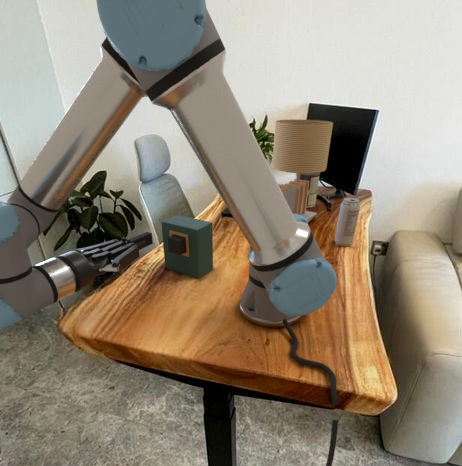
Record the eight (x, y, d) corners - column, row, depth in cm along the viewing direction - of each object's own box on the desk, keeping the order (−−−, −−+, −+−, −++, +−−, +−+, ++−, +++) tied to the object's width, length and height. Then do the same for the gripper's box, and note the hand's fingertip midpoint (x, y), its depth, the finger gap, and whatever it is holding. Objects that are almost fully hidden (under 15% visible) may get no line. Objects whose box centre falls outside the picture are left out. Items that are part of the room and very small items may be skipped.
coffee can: (296, 208, 154) (299, 174, 147) (290, 201, 163) (293, 169, 156) (318, 207, 156) (323, 174, 148) (311, 201, 164) (315, 169, 157)
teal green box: (198, 279, 97) (196, 230, 90) (164, 268, 102) (160, 221, 95) (213, 269, 102) (212, 222, 95) (180, 259, 107) (177, 214, 100)
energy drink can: (345, 239, 124) (353, 196, 116) (355, 245, 119) (365, 201, 111) (330, 241, 122) (337, 197, 114) (340, 247, 117) (349, 203, 109)
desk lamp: (307, 233, 128) (321, 125, 110) (259, 223, 137) (265, 122, 118) (325, 219, 142) (340, 121, 124) (280, 210, 151) (289, 118, 133)
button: (180, 255, 93) (179, 241, 91) (168, 251, 95) (167, 237, 93) (191, 248, 97) (190, 235, 95) (180, 245, 99) (179, 232, 97)
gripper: (48, 283, 72) (131, 246, 89) (91, 302, 66) (172, 258, 83) (38, 249, 68) (128, 217, 85) (84, 266, 62) (170, 228, 80)
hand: (149, 237), depth 84 cm, fingers closed
